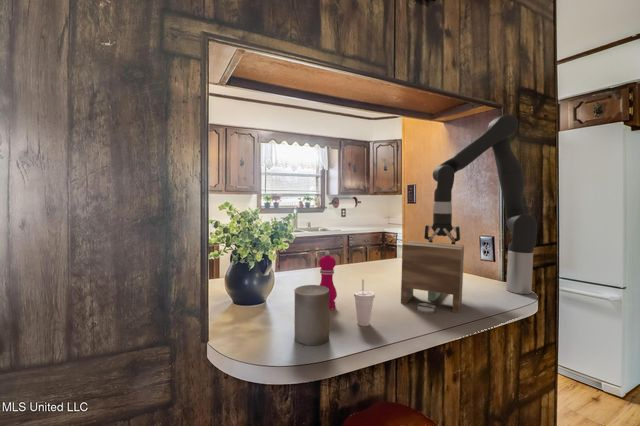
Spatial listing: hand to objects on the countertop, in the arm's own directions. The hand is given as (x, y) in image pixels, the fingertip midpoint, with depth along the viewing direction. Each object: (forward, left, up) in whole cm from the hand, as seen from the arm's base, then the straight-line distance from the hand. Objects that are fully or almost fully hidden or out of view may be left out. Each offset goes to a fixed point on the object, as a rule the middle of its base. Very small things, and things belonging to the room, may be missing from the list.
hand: (441, 249), depth 141 cm
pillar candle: (+71, -24, -17) cm, 77 cm away
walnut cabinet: (+22, 0, -17) cm, 28 cm away
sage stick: (+7, 0, -17) cm, 19 cm away
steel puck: (+32, 0, -17) cm, 36 cm away
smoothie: (+54, -15, -17) cm, 59 cm away
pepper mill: (+46, -32, -17) cm, 59 cm away
